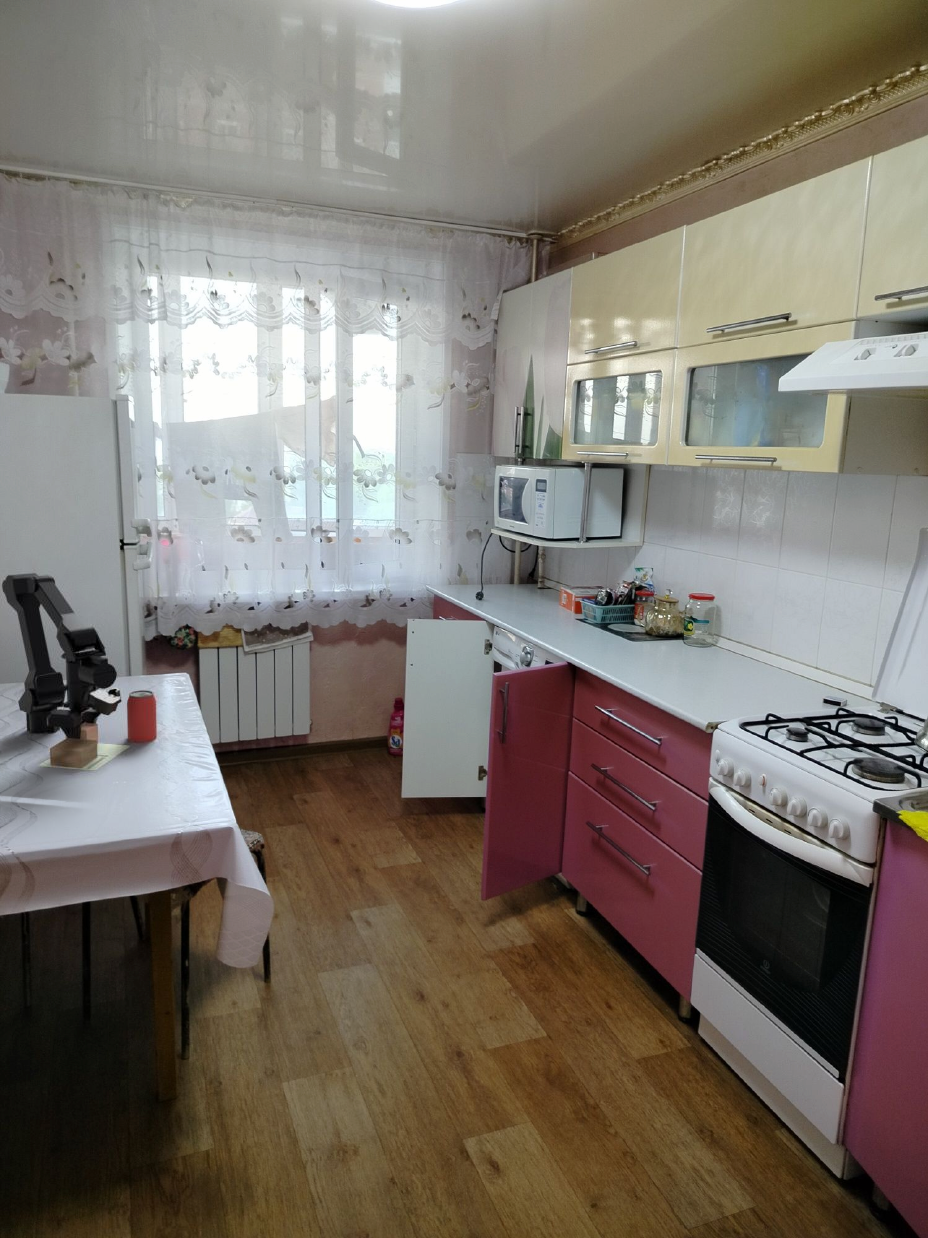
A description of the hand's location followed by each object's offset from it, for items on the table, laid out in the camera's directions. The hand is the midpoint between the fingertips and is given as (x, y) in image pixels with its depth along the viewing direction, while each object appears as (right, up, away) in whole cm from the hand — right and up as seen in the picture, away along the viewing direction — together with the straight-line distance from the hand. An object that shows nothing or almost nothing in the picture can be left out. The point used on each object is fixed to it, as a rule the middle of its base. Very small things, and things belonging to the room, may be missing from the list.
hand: (82, 744), depth 197 cm
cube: (0, -1, 0) cm, 0 cm away
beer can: (+11, -1, +8) cm, 14 cm away
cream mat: (+3, -2, -5) cm, 6 cm away
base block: (+2, -2, -9) cm, 10 cm away
